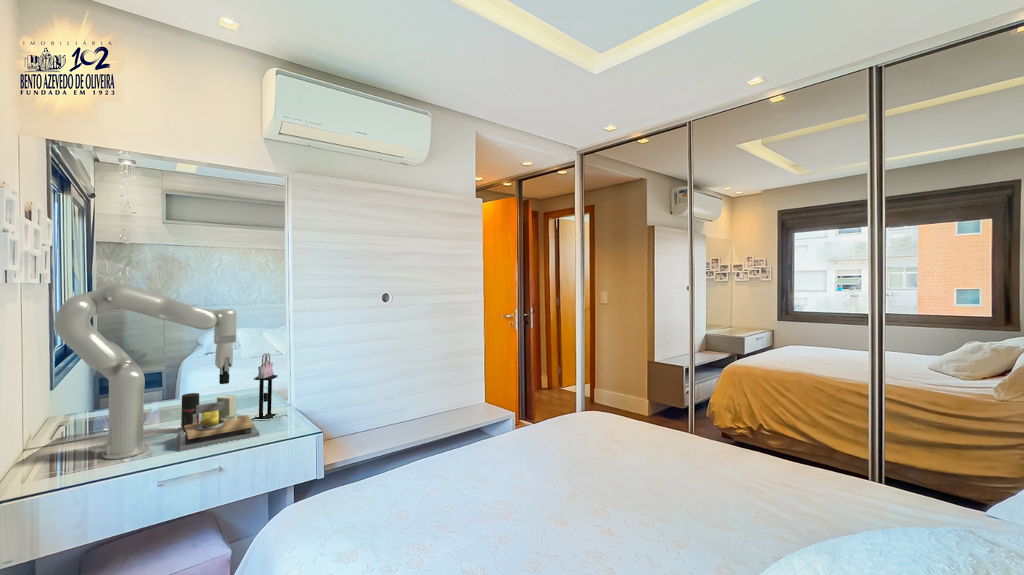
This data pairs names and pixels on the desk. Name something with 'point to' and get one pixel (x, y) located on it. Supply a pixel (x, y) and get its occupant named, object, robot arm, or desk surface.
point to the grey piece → (213, 438)
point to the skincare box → (227, 405)
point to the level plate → (225, 428)
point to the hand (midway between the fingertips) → (224, 383)
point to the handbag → (268, 375)
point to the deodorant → (189, 409)
